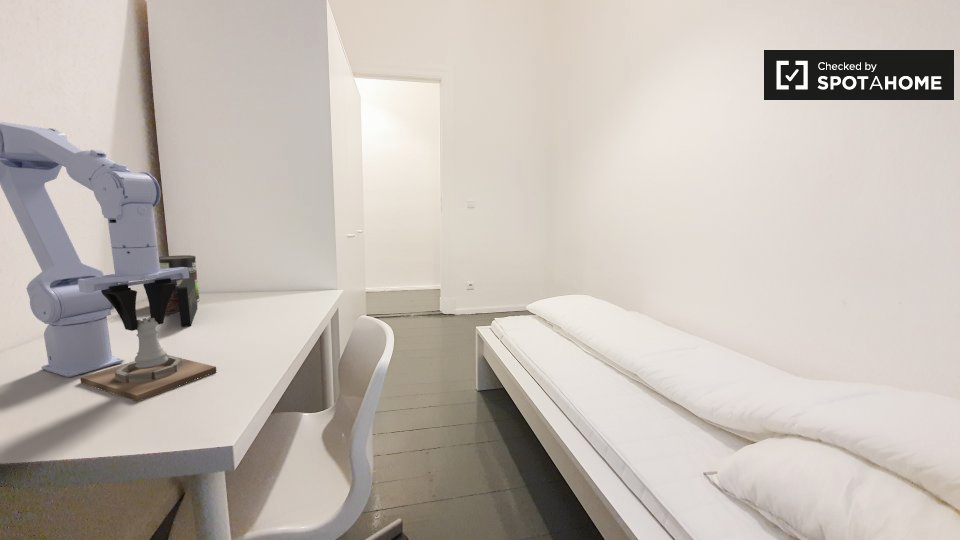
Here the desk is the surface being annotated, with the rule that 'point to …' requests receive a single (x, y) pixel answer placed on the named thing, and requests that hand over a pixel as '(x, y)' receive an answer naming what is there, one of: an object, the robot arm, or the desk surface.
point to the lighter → (173, 301)
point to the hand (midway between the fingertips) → (144, 326)
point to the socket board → (147, 377)
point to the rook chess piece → (149, 345)
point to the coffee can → (181, 261)
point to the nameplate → (187, 300)
